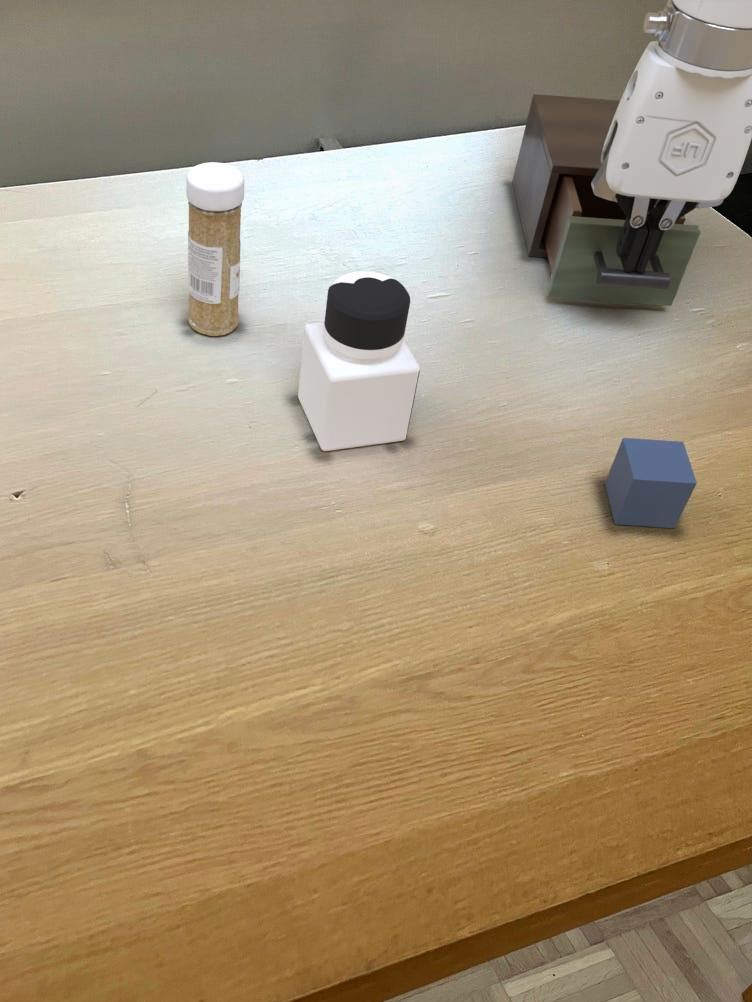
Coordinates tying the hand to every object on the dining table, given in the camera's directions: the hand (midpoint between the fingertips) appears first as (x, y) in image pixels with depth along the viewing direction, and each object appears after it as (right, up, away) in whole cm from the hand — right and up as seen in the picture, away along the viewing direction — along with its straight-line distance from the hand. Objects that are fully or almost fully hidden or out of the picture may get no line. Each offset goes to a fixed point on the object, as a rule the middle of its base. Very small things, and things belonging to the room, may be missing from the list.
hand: (630, 263), depth 91 cm
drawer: (0, +2, +8) cm, 9 cm away
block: (-3, -22, -11) cm, 25 cm away
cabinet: (+1, +10, +16) cm, 19 cm away
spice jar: (-36, -5, +2) cm, 37 cm away
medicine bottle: (-25, -15, -6) cm, 29 cm away
